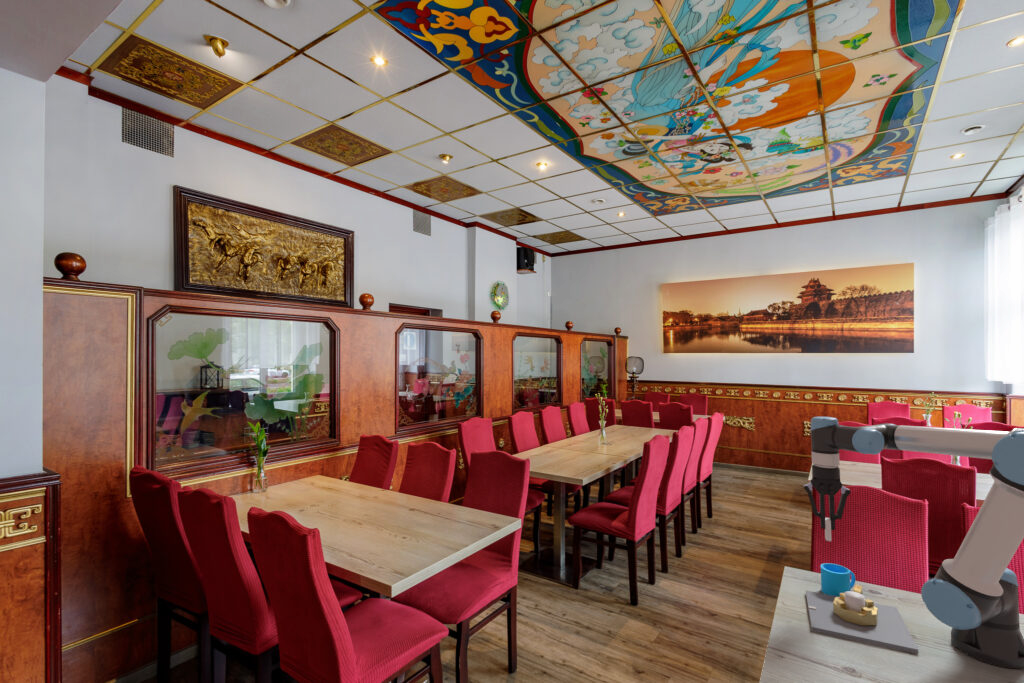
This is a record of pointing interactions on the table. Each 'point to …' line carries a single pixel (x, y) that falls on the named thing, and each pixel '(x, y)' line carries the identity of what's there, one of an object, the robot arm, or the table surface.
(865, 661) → the table surface
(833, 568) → the mug
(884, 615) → the housing plate
